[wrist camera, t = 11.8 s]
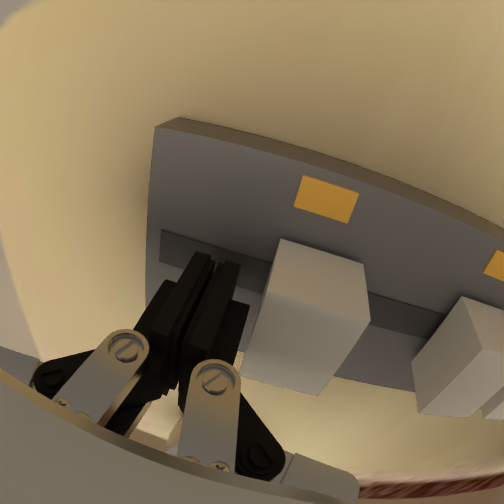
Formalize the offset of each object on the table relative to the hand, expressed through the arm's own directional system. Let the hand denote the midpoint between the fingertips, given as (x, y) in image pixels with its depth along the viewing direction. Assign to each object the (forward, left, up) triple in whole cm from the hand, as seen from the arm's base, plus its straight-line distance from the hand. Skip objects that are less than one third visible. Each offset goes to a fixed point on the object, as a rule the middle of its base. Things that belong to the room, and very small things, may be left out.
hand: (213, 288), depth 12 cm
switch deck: (-9, 0, -4) cm, 10 cm away
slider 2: (-11, 0, -1) cm, 11 cm away
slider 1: (-3, 0, -1) cm, 4 cm away
